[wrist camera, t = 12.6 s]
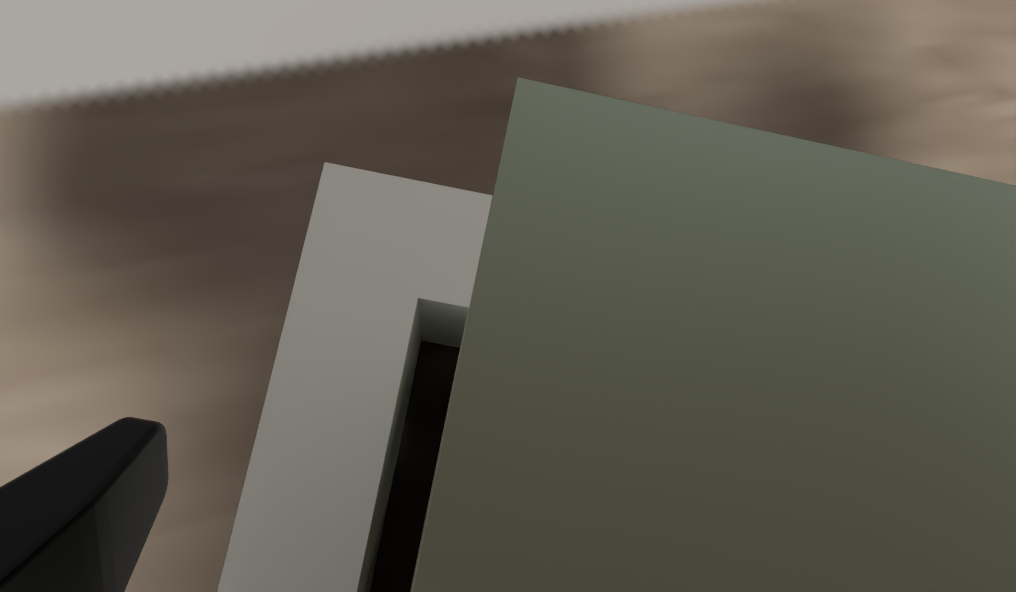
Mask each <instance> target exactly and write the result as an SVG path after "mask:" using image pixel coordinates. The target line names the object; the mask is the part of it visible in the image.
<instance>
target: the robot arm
mask: <svg viewBox="0 0 1016 592" xmlns="http://www.w3.org/2000/svg"><path fill="white" fill-rule="evenodd" d="M167 485H168V457H167V436H166V430H165V427H164V426H163V425H162V424H161V423H159V422H155V421H150V420H144V419H139V418H133V417H126V418H122V419H120V420H118V421H116V422H114V423H112V424H110V425H109V426H107V427H105V428H103V429H102V430H100V431H98V432H96V433H95V434H93V435H91V436H89V437H88V438H86V439H84V440H82V441H80V442H79V443H77V444H75V445H73V446H72V447H70V448H68V449H66V450H65V451H63V452H61V453H59V454H58V455H56V456H54V457H52V458H51V459H49V460H47V461H45V462H43V463H42V464H40V465H38V466H36V467H35V468H33V469H31V470H29V471H28V472H26V473H24V474H22V475H21V476H19V477H17V478H15V479H14V480H12V481H10V482H8V483H6V484H5V485H3V486H1V487H0V592H124V591H125V589H126V586H127V584H128V582H129V579H130V577H131V575H132V572H133V570H134V567H135V565H136V563H137V560H138V558H139V556H140V553H141V551H142V549H143V546H144V544H145V542H146V539H147V537H148V535H149V532H150V530H151V528H152V525H153V523H154V521H155V518H156V516H157V513H158V511H159V509H160V506H161V504H162V502H163V499H164V497H165V493H166V490H167Z"/></svg>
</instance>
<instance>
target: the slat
mask: <svg viewBox="0 0 1016 592" xmlns="http://www.w3.org/2000/svg"><path fill="white" fill-rule="evenodd" d="M410 592H1016V186H1015V185H1010V184H1006V183H1001V182H997V181H992V180H987V179H983V178H978V177H974V176H969V175H965V174H960V173H955V172H951V171H946V170H942V169H937V168H932V167H928V166H923V165H919V164H914V163H909V162H905V161H900V160H896V159H891V158H887V157H882V156H877V155H873V154H868V153H864V152H859V151H854V150H850V149H845V148H841V147H836V146H832V145H827V144H822V143H818V142H813V141H809V140H804V139H799V138H795V137H790V136H786V135H781V134H776V133H772V132H767V131H763V130H758V129H754V128H749V127H744V126H740V125H735V124H731V123H726V122H721V121H717V120H712V119H708V118H703V117H698V116H694V115H689V114H685V113H680V112H676V111H671V110H666V109H662V108H657V107H653V106H648V105H643V104H639V103H634V102H630V101H625V100H621V99H616V98H611V97H607V96H602V95H598V94H593V93H588V92H584V91H579V90H575V89H570V88H565V87H561V86H556V85H552V84H547V83H543V82H538V81H533V80H529V79H524V78H520V77H518V78H517V83H516V88H515V92H514V97H513V102H512V106H511V111H510V116H509V121H508V125H507V130H506V135H505V140H504V144H503V149H502V154H501V158H500V163H499V168H498V173H497V177H496V182H495V187H494V191H493V196H492V201H491V206H490V210H489V215H488V220H487V225H486V229H485V234H484V239H483V243H482V248H481V253H480V258H479V262H478V267H477V272H476V276H475V281H474V286H473V291H472V295H471V300H470V305H469V310H468V314H467V319H466V324H465V328H464V333H463V338H462V343H461V347H460V352H459V357H458V361H457V366H456V371H455V376H454V380H453V385H452V390H451V395H450V400H449V405H448V410H447V414H446V419H445V424H444V429H443V434H442V439H441V444H440V449H439V454H438V459H437V463H436V468H435V473H434V478H433V483H432V488H431V493H430V498H429V503H428V508H427V512H426V517H425V522H424V527H423V532H422V537H421V542H420V547H419V552H418V557H417V562H416V566H415V571H414V576H413V581H412V586H411V591H410Z"/></svg>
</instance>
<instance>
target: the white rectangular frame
mask: <svg viewBox="0 0 1016 592" xmlns="http://www.w3.org/2000/svg"><path fill="white" fill-rule="evenodd" d="M492 196H493V195H488V194H483V193H478V192H473V191H468V190H463V189H458V188H452V187H447V186H442V185H437V184H432V183H427V182H422V181H417V180H412V179H407V178H402V177H397V176H392V175H387V174H382V173H377V172H372V171H367V170H362V169H357V168H352V167H347V166H342V165H337V164H332V163H327V162H324V166H323V170H322V174H321V178H320V182H319V186H318V190H317V194H316V198H315V202H314V206H313V210H312V214H311V218H310V222H309V226H308V230H307V234H306V238H305V242H304V246H303V250H302V254H301V258H300V262H299V266H298V270H297V274H296V278H295V282H294V286H293V290H292V294H291V298H290V302H289V306H288V310H287V314H286V318H285V322H284V326H283V330H282V334H281V338H280V342H279V346H278V350H277V354H276V358H275V362H274V366H273V370H272V374H271V378H270V382H269V386H268V390H267V394H266V398H265V402H264V406H263V410H262V414H261V418H260V422H259V426H258V430H257V434H256V438H255V442H254V446H253V450H252V454H251V458H250V462H249V466H248V470H247V474H246V478H245V482H244V486H243V490H242V494H241V499H240V503H239V507H238V511H237V515H236V519H235V523H234V527H233V531H232V535H231V539H230V543H229V547H228V551H227V555H226V559H225V563H224V567H223V571H222V575H221V579H220V583H219V587H218V591H217V592H370V588H371V584H372V579H373V574H374V569H375V564H376V559H377V554H378V549H379V544H380V539H381V535H382V530H383V525H384V520H385V515H386V510H387V505H388V500H389V495H390V491H391V486H392V481H393V476H394V471H395V466H396V461H397V456H398V451H399V447H400V442H401V437H402V432H403V427H404V422H405V417H406V412H407V407H408V403H409V398H410V393H411V388H412V383H413V378H414V373H415V368H416V363H417V359H418V354H419V349H420V344H421V340H422V341H427V342H432V343H437V344H443V345H448V346H453V347H459V348H460V347H461V343H462V338H463V333H464V328H465V324H466V319H467V314H468V310H469V305H470V300H471V295H472V291H473V286H474V281H475V276H476V272H477V267H478V262H479V258H480V253H481V248H482V243H483V239H484V234H485V229H486V225H487V220H488V215H489V210H490V206H491V201H492Z"/></svg>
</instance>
